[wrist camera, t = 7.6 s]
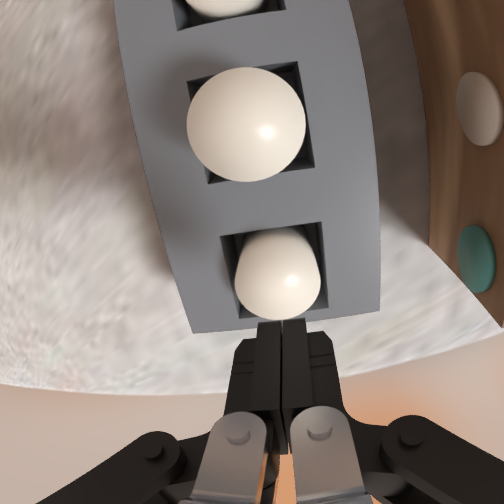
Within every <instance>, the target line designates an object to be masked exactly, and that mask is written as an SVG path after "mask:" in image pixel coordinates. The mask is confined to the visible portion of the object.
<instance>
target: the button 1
mask: <svg viewBox="0 0 504 504" xmlns="http://www.w3.org/2000/svg"><path fill="white" fill-rule="evenodd" d="M186 1H187V3H188V4H189V5H190V6H191V7H192V9H193V10H194V11H195V12H196V13H197V15H198V16H199V17H200V18H201V19H202V20H203V21H204V22H206V23H212V22H216V21H221V20H225V19H230V18H236V17H241V16H247V15H253V14H259V13H262V12H263V11H264V9H265V8H266V5H267V2H268V0H186Z"/></svg>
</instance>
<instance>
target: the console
mask: <svg viewBox="0 0 504 504" xmlns="http://www.w3.org/2000/svg"><path fill="white" fill-rule="evenodd" d="M113 4H114V12H115V20H116V27H117V35H118V41H119V48H120V54H121V60H122V66H123V72H124V78H125V83H126V89H127V94H128V99H129V104H130V109H131V114H132V119H133V124H134V128H135V133H136V137H137V142H138V146H139V151H140V155H141V159H142V163H143V167H144V172H145V176H146V180H147V184H148V188H149V191H150V195H151V199H152V203H153V207H154V210H155V214H156V218H157V221H158V225H159V228H160V232H161V235H162V239H163V242H164V246H165V249H166V252H167V256H168V259H169V262H170V265H171V269H172V272H173V275H174V278H175V281H176V285H177V288H178V291H179V294H180V297H181V300H182V303H183V306H184V309H185V312H186V315H187V318H188V321H189V324H190V326H191V329H192V332H193V334H195V333H208V332H220V331H232V330H242V329H252V328H257V327H258V322H267V321H276V320H271V319H265V318H262V317H259V316H257V315H255V314H253V313H252V312H250V311H249V310H248V309H246V308H245V307H244V305H243V304H242V303H241V302H240V300H239V298H238V296H237V294H236V290H235V276H236V271H237V267H238V262H239V258H240V253H241V248H242V244H243V240H244V237H245V234H246V233H247V232H250V231H257V230H264V229H271V228H278V227H285V226H292V225H299V224H301V225H302V226H303V227H304V228H305V230H306V231H307V233H308V235H309V238H310V241H311V244H312V248H313V252H314V255H315V259H316V263H317V267H318V270H319V274H320V290H319V294H318V296H317V298H316V300H315V301H314V303H313V304H312V305H311V306H310V307H309V308H308V309H307V310H306V311H304V312H303V313H301V314H300V315H298V316H295V317H293V318H289V319H294V318H303V317H305V321H306V322H311V321H318V320H325V319H332V318H339V317H345V316H352V315H358V314H364V313H370V312H376V311H379V309H380V274H381V247H380V211H379V192H378V177H377V165H376V154H375V144H374V135H373V126H372V119H371V111H370V104H369V97H368V91H367V85H366V79H365V73H364V68H363V62H362V57H361V52H360V47H359V42H358V38H357V33H356V29H355V25H354V20H353V16H352V12H351V8H350V4H349V1H348V0H268V2H267V5H266V8H265V9H264V11H263V12H262V13H259V14H253V15H247V16H241V17H236V18H230V19H225V20H221V21H216V22H212V23H206V22H204V21H203V20H202V19H201V18H200V17H199V16H198V15H197V13H196V12H195V11H194V10H193V9H192V7H191V6H190V5H189V4H188V3H187V1H186V0H113ZM240 67H252V68H259V69H263V70H266V71H269V72H271V73H273V74H275V75H277V76H279V77H280V78H282V79H283V80H284V81H285V82H287V83H288V84H289V85H290V86H291V87H292V89H293V90H294V91H295V93H296V94H297V96H298V97H299V99H300V101H301V104H302V106H303V109H304V114H305V122H306V126H305V135H304V139H303V143H302V145H301V148H300V150H299V152H298V153H297V155H296V156H295V158H294V159H293V160H292V161H291V163H290V164H289V165H288V166H286V167H285V168H284V169H283V170H281V171H280V172H279V173H277V174H275V175H273V176H271V177H269V178H266V179H263V180H258V181H252V182H240V181H233V180H230V179H226V178H224V177H221V176H219V175H217V174H215V173H214V172H212V171H211V170H209V169H208V168H207V167H206V166H205V165H204V164H203V163H201V161H200V160H199V159H198V158H197V156H196V155H195V153H194V151H193V149H192V147H191V145H190V142H189V139H188V134H187V115H188V111H189V107H190V104H191V102H192V100H193V98H194V96H195V95H196V93H197V92H198V90H199V89H200V88H201V87H202V86H203V85H204V84H205V83H206V82H207V81H208V80H209V79H211V78H212V77H214V76H215V75H217V74H219V73H221V72H224V71H226V70H230V69H234V68H240ZM284 320H285V319H284ZM281 322H282V325H283V320H281Z"/></svg>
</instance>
